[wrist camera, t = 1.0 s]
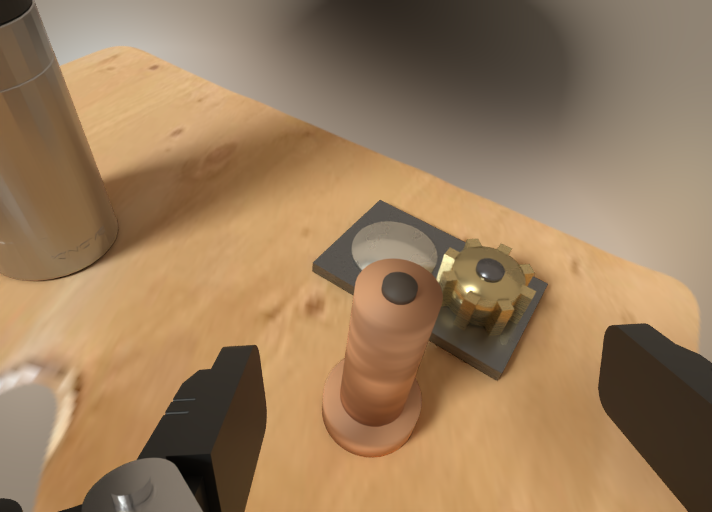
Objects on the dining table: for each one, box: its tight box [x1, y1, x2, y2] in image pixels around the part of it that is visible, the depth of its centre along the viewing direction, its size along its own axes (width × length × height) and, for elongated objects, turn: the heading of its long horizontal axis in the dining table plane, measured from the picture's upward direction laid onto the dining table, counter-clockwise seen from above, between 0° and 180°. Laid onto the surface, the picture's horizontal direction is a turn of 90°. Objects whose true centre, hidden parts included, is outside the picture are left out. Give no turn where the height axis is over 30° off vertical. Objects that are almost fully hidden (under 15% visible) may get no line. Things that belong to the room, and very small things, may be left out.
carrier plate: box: [312, 200, 548, 381], centre depth 37 cm, size 16×10×1 cm, turn 56°
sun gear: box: [436, 239, 536, 336], centre depth 34 cm, size 7×7×3 cm
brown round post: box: [322, 258, 443, 457], centre depth 25 cm, size 6×6×12 cm
